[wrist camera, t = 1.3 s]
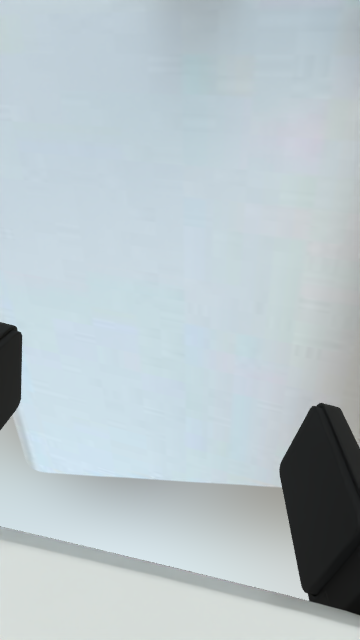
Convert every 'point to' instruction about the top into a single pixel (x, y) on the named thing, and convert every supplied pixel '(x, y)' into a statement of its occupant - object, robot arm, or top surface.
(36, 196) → the top surface
